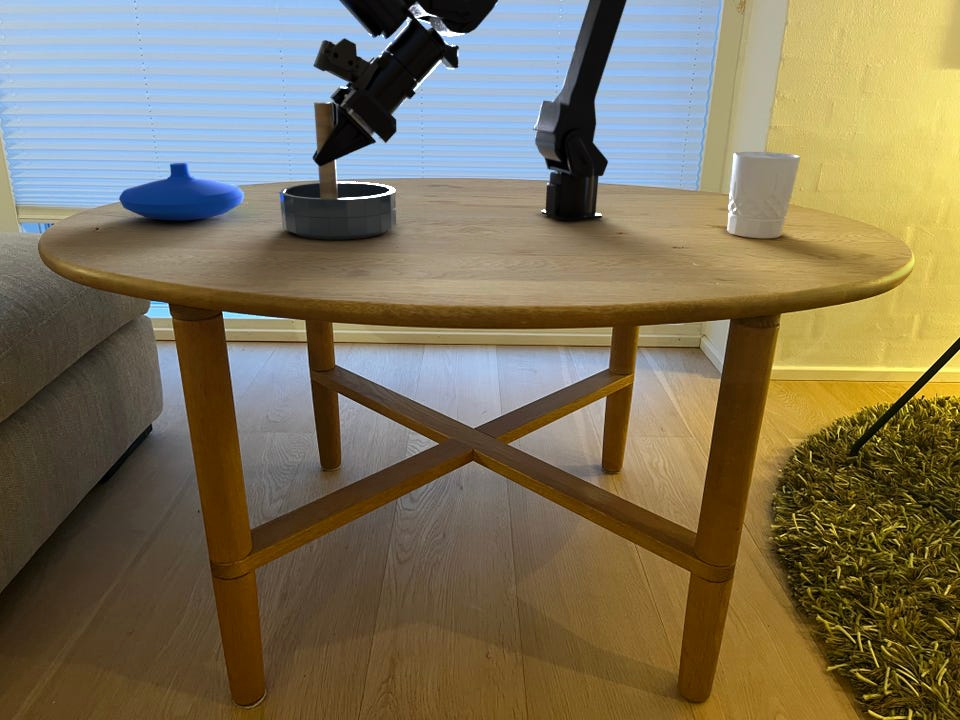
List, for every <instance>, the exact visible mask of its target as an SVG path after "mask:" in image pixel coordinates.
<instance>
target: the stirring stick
mask: <svg viewBox="0 0 960 720" xmlns="http://www.w3.org/2000/svg"><path fill="white" fill-rule="evenodd" d="M313 105H314V106H313V108H314V122H315V123H314V125H315V139H316V150H317V154H318V152H319V150H320V149H321V147H322V146H323V144H324V142H325V141H326V139H327V138H328V136H329V134H330V133H331V131H332V130H333V128H334V121H333V103H331V102H326V101H325V102H322V101H321V102H319V101H318V102H317V101H316V102H313ZM317 167H318V169H317V170H318V183H319V185H320V198H325V199H338V191H337V182H338V175H337V174H338V173H337V159H336V160H334V161H332V162H330V163H328V164H325V165H323V166H319V165H317Z"/></svg>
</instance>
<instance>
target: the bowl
mask: <svg viewBox="0 0 960 720" xmlns="http://www.w3.org/2000/svg"><path fill="white" fill-rule="evenodd" d="M337 191H338V199H325V198H320V185H319V182H312V183H311V182H309V183H301V184H296V185H290V186H287V187H284V188H281V189H280V191H279V201H280V202H279V203H280V212H281V223H282V228H283V229H284V230H286V231H287V232H290V233H292V234H294V235H296V236H299V237H302V238H307V239H313V240H314V239H315V240H327V241H329V240H330V241H334V240H335V241H336V240H337V241H339V240H340V241H341V240H357V239H365V238H366V239H367V238H371V237H372V238H373V237H376V236H381V235H382V234H385V233H387V232H388V231H391V230H392V229H393V228H395V227H396V226H397V208H396V207H397V205H396V203H397V202H396V189H395V188H394V187H392V186H389V185H385V184H379V183H370V182H358V181H357V182H356V181H337Z"/></svg>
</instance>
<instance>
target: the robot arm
mask: <svg viewBox="0 0 960 720" xmlns="http://www.w3.org/2000/svg"><path fill="white" fill-rule="evenodd" d="M338 1H339V2H340V3H341V4H342V5H343V6H344V8H345V9H346V10H347V11H348V12H349V13H350V14H351V15H352V17H354V18H355V20H356V21H357V22H358V23H359V24H360V25H361V26H362V27H363V28H364V30H365V31H366V32H367V33H368V34H369V35H370V36H371V37H372V38H373V39H375V38H377V37H378V36H379V37H380V36H381V35H382V37H383V38H384V39H385V40H387V39H389V38H390V37H392V36H393V35H394V34H395V33H396V32H397V31H398V30H399V28H401V27H402V25H403V24H404V23H405V22H407V24H406V25H405V26H404V28H403V29H401V31H400V32H399V33H398V35H397V36H395V38H394V39H393V40H392V41H391V42H390V43H389V44H388V45H387V47H386V48H385V49H384V50H383V51H382V52H381V53H380V54H379V55H376V56H375V57H374V56H371V58H369V60H368V61H367V60H365V59H363V57H361V56H358V52H357V43H355V42H353V41H351V40H349V39H348V38H345V37H344V38H342V39H340V40H339V41H338V42H337V43H336V44H335V43H334V42H332V41H330V40H326V39H324V40H322V42H321V44H320V47H319V50H318V52H317V55H316V58H315V59H314V63H313V67H314V68H316V69H318V70H320V71H321V72H328V73H330V74H331V75H333V76H334V77H337V78H339V79H341V80H343V81H345V82H347V83H346V84H345V87H344V86H339V87H338V88H336V90H335V91H334V92H333V93H332V94H331V95H330V97H329V98H330V100H332V101H331V102H330V103H333V121H334V128H333V130H332V131H331V133H330V134H329V136H328V138H327V139H326V141H325V142H324V144H323V146H322V147H321V149H320V150H319V152H318V154H317V149H316V150H315V151H314V153H313V155H312V157H311V159H312V160H313V162H314V163H315V164H316V165H317V166H318V165H319V166H323V165H325V164H328V163H330V162H332V161H334V160H336V161H337V160H339V159H341V158H343V157H345V156H347V155H349V154H352V153H355V152H356V151H359V150H361V149H363V148H366V147H368V146H370V145H374V144H376V143H377V140H376V139H375V138H374V137H373V136H374V135H375V134H376V135H377V136H378V139H379V140H380V141H381V142H382V143H384V144H387V143H388V141H389V140H390V139H391V138H392V137H393V136H394V135H395V134H396V133H397V118H395V117H394V113H395V112H396V111H397V110H398V109H399V108H400V107H401V106H402V105H403V104H404V102H405V101H406V100H412V98H413V97H414V96H415V95H416V91H415V90H416V89H417V88H418V87H419V86H420V85H421V84H422V83H423V82H424V80H425V79H426V78H427V77H428V76H429V75H430V74H431V73H432V72H433V71H434V70H435V69H436V67H437V66H438V65H439V64H440V63H442V64H443V66H445V67H446V69H447V70H450V69H451V70H457V69H459V67H460V63H459V50H460V46H459V45H457V44H456V45H455V44H454V45H449V44H448V43H447V41H446V40H444V38H443V36H447V37H453V36H454V37H455V36H460V35H461V36H462V35H466V34H470V33H471V32H473V31H475V30H476V29H477V28H478V27H479V26H480V25H481V24H482V22H483V21H484V20H485V19H486V18H487V16H488V15H489V14H490V13H491V12H492V11H493V10H494V8H495V7H496V5H497V4H498V2H499V0H338ZM627 1H628V0H588V3H587V6H586V9H585V13H584V17H583V20H582V22H581V26H580V30H579V33H578V35H577V39H576V42H575V45H574V49H573V51H572V56H571V58H570V62H569V65H568V67H567V72H566V75H565V78H564V80H563V81H564V82H563V84H562V88H561V90H560V92H559V93H558V94H557V96H556V97H555V99H554V100H543V101H542V102H541V105H540V109H539V115H538V118H537V121H536V124H535V125H534V126H533V128H532V130H533V131H534V132H536V133H535V137H534V143H535V146H536V148H537V151H538V152H539V153H540V154H541V156H542V157H543V158H544V161H545V166H546V169H547V170H549V171H550V172H549V182H548V183H547V184H546V194H545V209H543V210H541V215H545V216H548V217H550V218H554V219H557V220H560V221H564V222H572V221H574V222H575V221H583V220H584V221H585V220H594V219H596V220H597V219H602V218H603V214H601V213H598V212H597V203H598V190H599V189H598V188H599V177H603V176H604V174H605V172H606V169H607V166H608V165H609V160H608V159H607V157H606V156H604V154H603V152H602V151H601V150H600V149H599V147H597V146H596V144H595V143H594V139H595V134H596V128H597V114H596V113H597V112H596V98H597V94H598V91H599V88H600V86H601V85H600V84H601V81H602V79H603V75H604V72H605V69H606V66H607V63H608V59H609V57H610V53H611V50H612V48H613V44H614V42H615V39H616V36H617V32H618V29H619V26H620V22H621V20H622V17H623V14H624V10H625V7H626V4H627ZM420 21H421V22H425V23H428V24H430V26H431V27H429V28H428V29H427V28H426V27H425V26H424V25H423V24H422V23H421V22H420Z"/></svg>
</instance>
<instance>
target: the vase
mask: <svg viewBox="0 0 960 720" xmlns="http://www.w3.org/2000/svg"><path fill="white" fill-rule="evenodd" d="M169 168H170V175H169V176H168V177H167V178H164V179H163V178H162V179H158V180H154V181H150V182H146V183H143V184H140V185H136V186H132V187H129V188H126V189H124V190H123V191H122V192H121V194H120V195H119V197H118V198H119V199H118V200H119V202H120V204H121V205H122V207H123V209H125V210H127V211H129V212H132V213H134V214H137V215H138V216H142V217H145V218H148V219H154V220H163V221H164V220H165V221H177V222H179V221H180V222H181V221H184V222H185V221H195V220H201V219H207V218H213V217H217V216H221V215H224V214H226V213H227V212H228V213H229V212H230V211H231V210H232V209H234V208H236V207H238V206H239V205H241V204H242V203H243V201H244V196H245V192H244V191H243V190H242V189H241V188H240V187H239V186H238V185H236V184H233V183H232V184H231V183H228V182H224V181H217V180H214V179H213V180H212V179H207V178H201V177H194V176H192V175H191V174H190V170H189V164H188V163H186V162H173V163H169Z"/></svg>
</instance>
